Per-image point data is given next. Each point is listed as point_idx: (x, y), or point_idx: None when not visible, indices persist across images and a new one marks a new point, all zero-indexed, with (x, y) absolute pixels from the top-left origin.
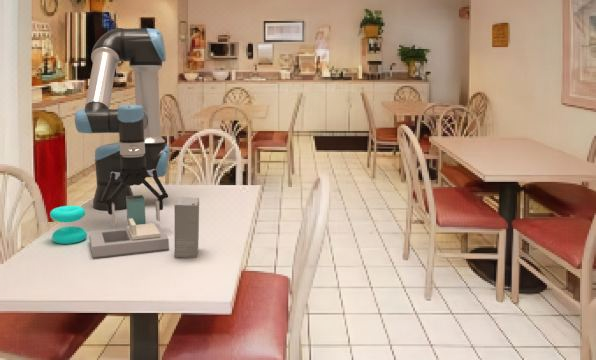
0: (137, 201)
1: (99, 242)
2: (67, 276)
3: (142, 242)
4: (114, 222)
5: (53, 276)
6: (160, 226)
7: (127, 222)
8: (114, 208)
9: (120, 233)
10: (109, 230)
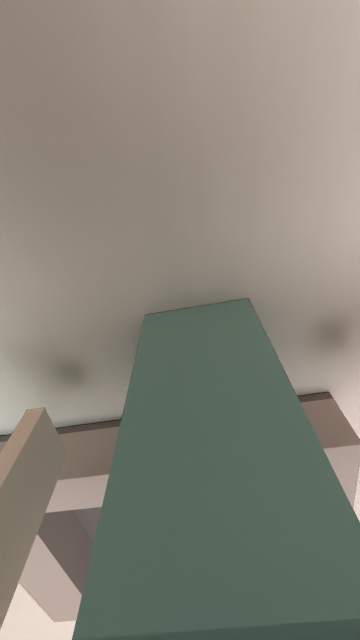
0: None
1: (64, 599)
2: (44, 627)
3: None
4: (55, 472)
5: (9, 624)
6: (357, 476)
7: (136, 360)
8: (5, 611)
9: None
10: (55, 493)
